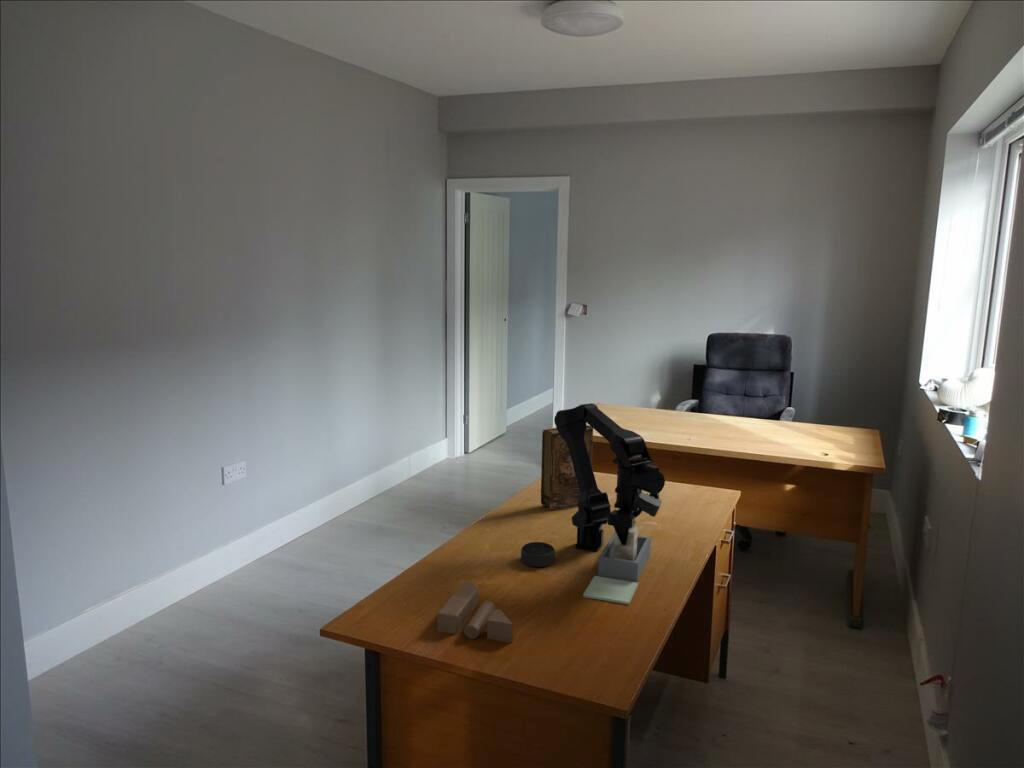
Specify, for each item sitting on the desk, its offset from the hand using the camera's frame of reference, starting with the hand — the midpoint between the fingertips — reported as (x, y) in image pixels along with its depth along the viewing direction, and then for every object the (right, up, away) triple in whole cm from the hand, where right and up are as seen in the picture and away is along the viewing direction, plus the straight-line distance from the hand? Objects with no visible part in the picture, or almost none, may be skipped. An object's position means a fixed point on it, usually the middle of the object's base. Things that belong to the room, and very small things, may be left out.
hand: (625, 541), depth 198 cm
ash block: (0, -4, +1) cm, 4 cm away
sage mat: (-6, -9, -13) cm, 17 cm away
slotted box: (0, -7, +1) cm, 7 cm away
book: (-12, +2, +46) cm, 48 cm away
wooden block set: (-35, -12, -28) cm, 47 cm away
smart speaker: (-23, -6, +3) cm, 24 cm away
